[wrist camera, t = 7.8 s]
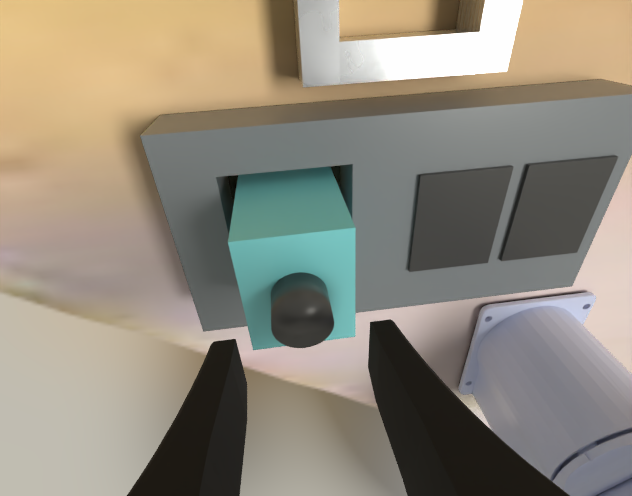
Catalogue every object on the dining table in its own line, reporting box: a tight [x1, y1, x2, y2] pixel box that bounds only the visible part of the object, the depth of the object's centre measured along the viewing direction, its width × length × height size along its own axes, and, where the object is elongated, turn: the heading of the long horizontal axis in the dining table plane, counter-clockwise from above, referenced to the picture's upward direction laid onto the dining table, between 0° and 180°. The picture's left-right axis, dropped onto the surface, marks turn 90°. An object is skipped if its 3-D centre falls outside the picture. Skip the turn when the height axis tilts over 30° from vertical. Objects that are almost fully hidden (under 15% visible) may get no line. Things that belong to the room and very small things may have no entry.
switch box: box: [140, 79, 632, 331], centre depth 17 cm, size 10×20×3 cm, turn 93°
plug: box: [228, 166, 356, 350], centre depth 15 cm, size 5×4×8 cm
